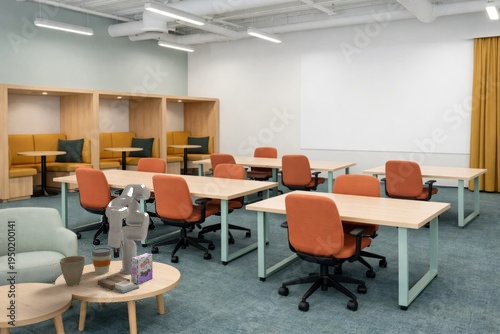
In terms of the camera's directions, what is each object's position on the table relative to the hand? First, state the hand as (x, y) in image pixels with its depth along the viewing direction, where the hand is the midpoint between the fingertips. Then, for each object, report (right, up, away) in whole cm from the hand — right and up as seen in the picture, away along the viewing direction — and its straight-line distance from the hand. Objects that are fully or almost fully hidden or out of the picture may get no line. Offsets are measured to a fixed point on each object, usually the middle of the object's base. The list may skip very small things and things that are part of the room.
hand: (116, 257), depth 285 cm
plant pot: (-28, -17, +2) cm, 33 cm away
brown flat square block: (-2, -18, +2) cm, 18 cm away
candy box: (+13, -17, +10) cm, 24 cm away
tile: (+6, -17, -5) cm, 19 cm away
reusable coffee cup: (-18, -15, +27) cm, 36 cm away
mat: (+7, -18, -5) cm, 20 cm away
